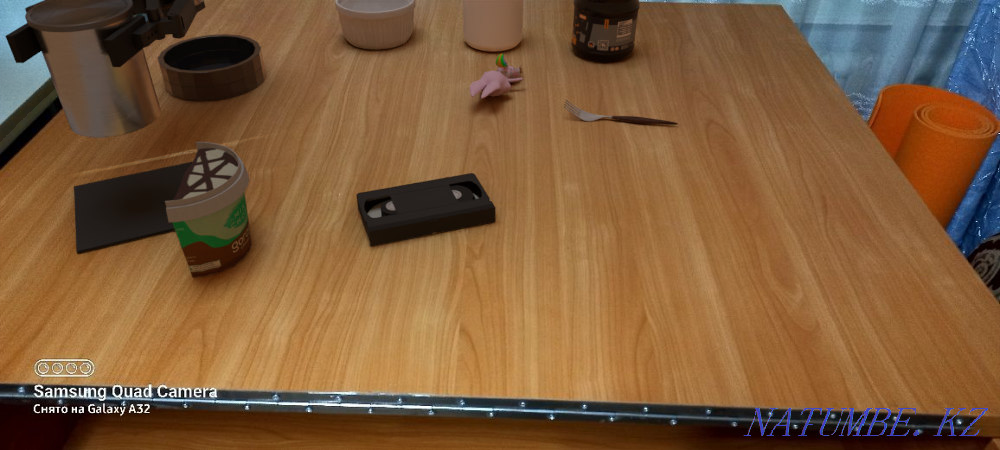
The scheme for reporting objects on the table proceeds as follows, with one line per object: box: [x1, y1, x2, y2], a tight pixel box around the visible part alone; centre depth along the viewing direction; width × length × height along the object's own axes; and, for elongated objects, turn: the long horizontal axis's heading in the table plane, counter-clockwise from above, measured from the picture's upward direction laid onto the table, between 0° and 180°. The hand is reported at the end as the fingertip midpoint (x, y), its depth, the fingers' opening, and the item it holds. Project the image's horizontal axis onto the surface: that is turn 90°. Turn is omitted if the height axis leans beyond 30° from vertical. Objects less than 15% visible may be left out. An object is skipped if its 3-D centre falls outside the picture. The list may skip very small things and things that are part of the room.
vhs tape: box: [356, 172, 497, 247], centre depth 84 cm, size 14×8×2 cm, turn 109°
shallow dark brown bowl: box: [157, 33, 267, 103], centre depth 111 cm, size 14×14×5 cm
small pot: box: [24, 0, 162, 139], centre depth 76 cm, size 10×10×12 cm
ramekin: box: [334, 0, 417, 51], centre depth 126 cm, size 13×13×7 cm
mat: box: [73, 161, 193, 255], centre depth 86 cm, size 14×14×1 cm
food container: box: [165, 141, 253, 278], centre depth 77 cm, size 12×6×10 cm, turn 5°
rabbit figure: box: [469, 53, 524, 99], centre depth 109 cm, size 6×6×15 cm
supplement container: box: [570, 0, 641, 63], centre depth 120 cm, size 10×10×12 cm
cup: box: [462, 0, 524, 53], centre depth 124 cm, size 10×10×10 cm
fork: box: [562, 99, 679, 126], centre depth 103 cm, size 3×16×2 cm, turn 78°
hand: (63, 51), depth 71 cm, fingers closed on small pot, 9 cm apart
